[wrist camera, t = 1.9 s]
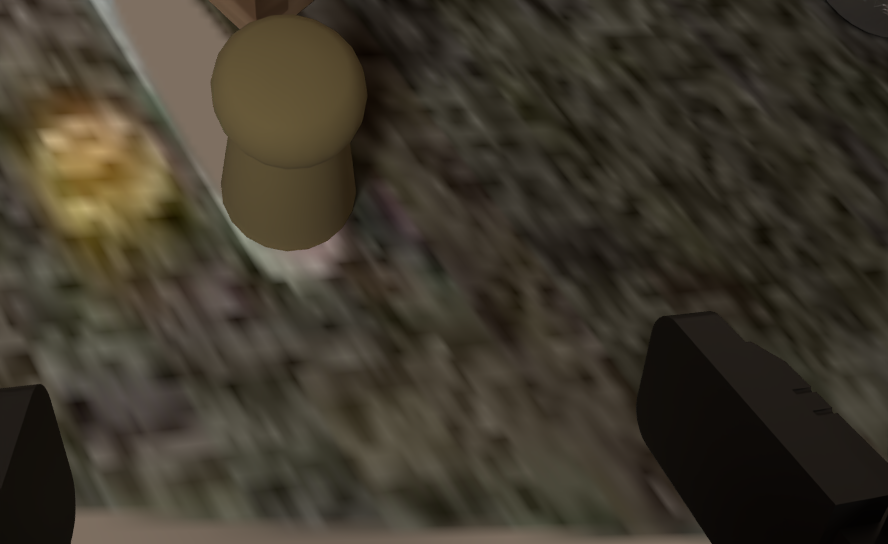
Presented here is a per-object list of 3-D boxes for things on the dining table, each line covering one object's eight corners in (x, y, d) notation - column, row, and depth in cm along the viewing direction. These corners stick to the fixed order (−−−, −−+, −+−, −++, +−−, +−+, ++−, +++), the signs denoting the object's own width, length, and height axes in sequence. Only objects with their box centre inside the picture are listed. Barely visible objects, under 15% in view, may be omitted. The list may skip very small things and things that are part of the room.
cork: (225, 121, 35) (199, -27, 25) (357, 131, 36) (385, -6, 26) (216, 247, 34) (184, 147, 23) (354, 254, 35) (383, 161, 24)
